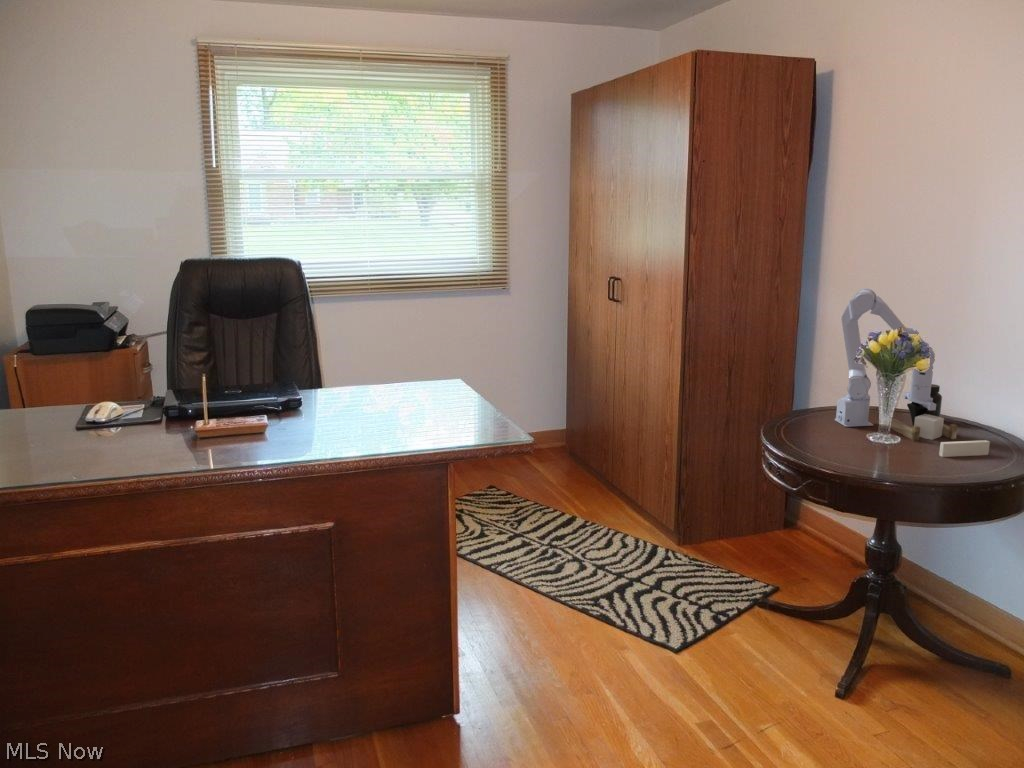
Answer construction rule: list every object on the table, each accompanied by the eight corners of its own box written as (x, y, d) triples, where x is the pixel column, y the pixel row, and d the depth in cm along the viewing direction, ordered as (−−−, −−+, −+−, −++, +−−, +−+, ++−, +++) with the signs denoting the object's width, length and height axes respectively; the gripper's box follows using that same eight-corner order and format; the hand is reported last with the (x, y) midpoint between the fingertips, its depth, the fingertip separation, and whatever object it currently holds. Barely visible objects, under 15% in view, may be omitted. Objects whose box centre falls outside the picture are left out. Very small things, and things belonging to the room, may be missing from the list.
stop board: (942, 456, 229) (943, 443, 228) (939, 455, 231) (940, 442, 230) (988, 454, 230) (989, 441, 229) (984, 453, 232) (986, 440, 231)
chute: (913, 440, 244) (915, 427, 243) (889, 427, 257) (890, 414, 256) (955, 439, 245) (957, 425, 244) (929, 425, 258) (930, 412, 257)
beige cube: (931, 440, 244) (934, 421, 243) (912, 435, 249) (914, 417, 248) (941, 436, 248) (944, 417, 246) (923, 431, 252) (925, 413, 251)
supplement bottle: (940, 419, 265) (944, 384, 262) (938, 424, 260) (942, 389, 257) (917, 416, 269) (921, 382, 266) (915, 421, 263) (919, 386, 260)
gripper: (947, 390, 244) (942, 432, 247) (919, 379, 258) (915, 418, 261) (925, 391, 243) (920, 433, 246) (899, 379, 257) (894, 419, 260)
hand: (916, 425), depth 254 cm, fingers closed
